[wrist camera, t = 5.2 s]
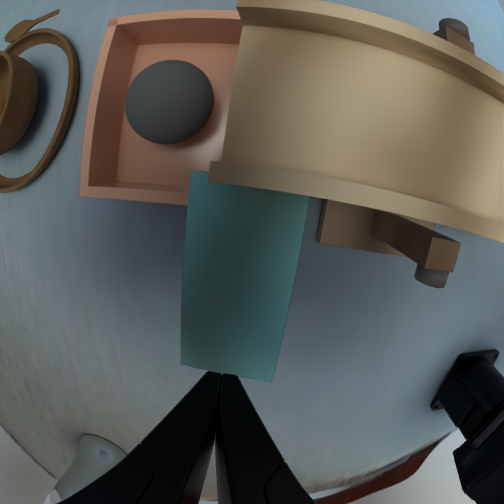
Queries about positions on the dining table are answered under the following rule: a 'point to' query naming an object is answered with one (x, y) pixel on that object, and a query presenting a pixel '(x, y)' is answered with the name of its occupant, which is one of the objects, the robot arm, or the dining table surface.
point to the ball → (169, 102)
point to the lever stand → (397, 215)
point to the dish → (114, 93)
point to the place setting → (29, 93)
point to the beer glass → (86, 466)
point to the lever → (328, 161)
